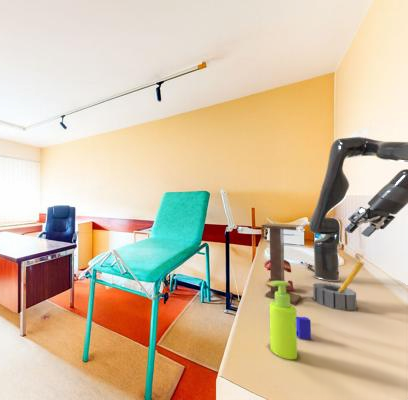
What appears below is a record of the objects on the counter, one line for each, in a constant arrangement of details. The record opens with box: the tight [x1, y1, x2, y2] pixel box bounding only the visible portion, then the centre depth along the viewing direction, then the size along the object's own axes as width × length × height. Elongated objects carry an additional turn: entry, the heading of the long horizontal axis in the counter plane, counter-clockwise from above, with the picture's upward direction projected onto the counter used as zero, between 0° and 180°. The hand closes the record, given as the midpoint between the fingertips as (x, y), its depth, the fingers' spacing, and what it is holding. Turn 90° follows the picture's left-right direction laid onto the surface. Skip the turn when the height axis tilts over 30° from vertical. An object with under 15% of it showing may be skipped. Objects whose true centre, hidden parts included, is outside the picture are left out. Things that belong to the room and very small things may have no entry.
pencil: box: [338, 260, 365, 292], centre depth 85 cm, size 20×1×1 cm
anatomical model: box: [263, 259, 294, 293], centre depth 104 cm, size 10×8×15 cm
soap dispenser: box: [266, 280, 298, 360], centre depth 61 cm, size 6×7×20 cm
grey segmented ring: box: [312, 282, 357, 311], centre depth 88 cm, size 12×12×6 cm
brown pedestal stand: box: [261, 222, 304, 306], centre depth 94 cm, size 12×10×32 cm
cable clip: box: [296, 316, 312, 340], centre depth 72 cm, size 12×4×6 cm, turn 168°
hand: (356, 233), depth 84 cm, fingers open, 8 cm apart
